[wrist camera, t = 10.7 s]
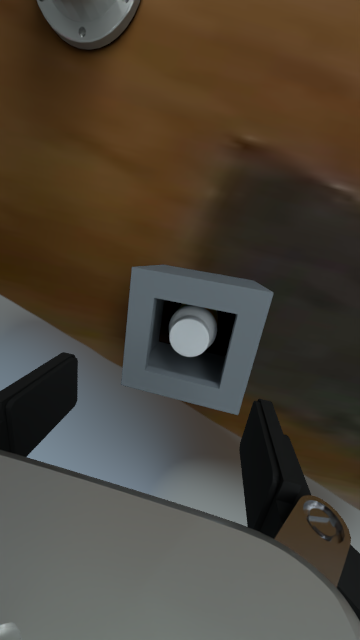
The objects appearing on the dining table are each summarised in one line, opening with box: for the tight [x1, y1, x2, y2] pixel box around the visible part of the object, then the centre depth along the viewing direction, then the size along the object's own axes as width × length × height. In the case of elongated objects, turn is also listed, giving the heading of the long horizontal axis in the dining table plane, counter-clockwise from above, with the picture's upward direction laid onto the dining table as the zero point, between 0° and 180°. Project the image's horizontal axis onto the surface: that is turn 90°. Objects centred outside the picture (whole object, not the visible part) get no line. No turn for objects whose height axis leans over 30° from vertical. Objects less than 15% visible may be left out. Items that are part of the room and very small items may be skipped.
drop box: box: [121, 265, 273, 415], centre depth 25 cm, size 12×12×11 cm
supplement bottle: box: [169, 303, 218, 357], centre depth 26 cm, size 5×5×10 cm
